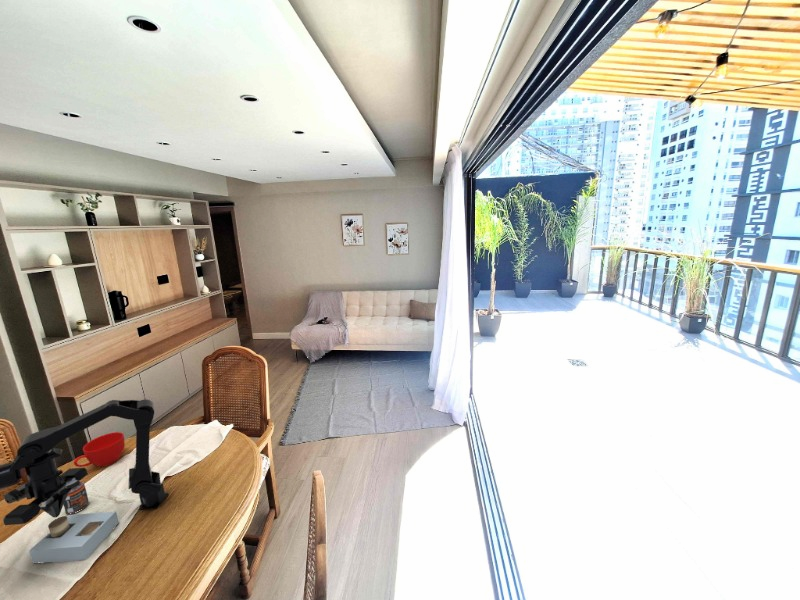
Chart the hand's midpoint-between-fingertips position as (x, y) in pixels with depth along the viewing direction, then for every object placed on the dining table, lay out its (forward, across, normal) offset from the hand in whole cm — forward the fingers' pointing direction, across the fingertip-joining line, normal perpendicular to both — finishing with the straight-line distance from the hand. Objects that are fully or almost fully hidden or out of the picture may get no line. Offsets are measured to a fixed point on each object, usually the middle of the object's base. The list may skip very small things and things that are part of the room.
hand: (56, 516), depth 95 cm
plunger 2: (+10, 0, +9) cm, 14 cm away
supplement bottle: (+11, -14, -9) cm, 20 cm away
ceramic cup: (+11, -37, -20) cm, 43 cm away
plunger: (+7, 0, 0) cm, 7 cm away
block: (+10, 0, +4) cm, 11 cm away
